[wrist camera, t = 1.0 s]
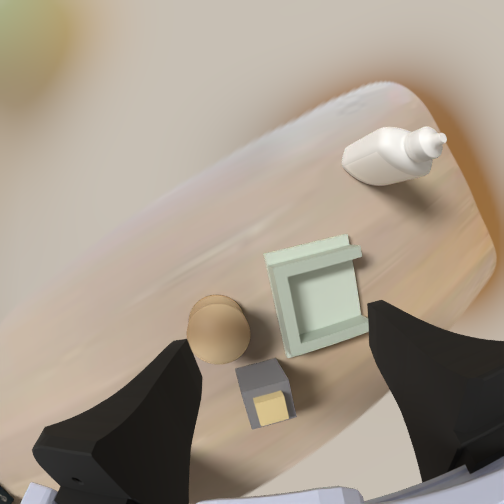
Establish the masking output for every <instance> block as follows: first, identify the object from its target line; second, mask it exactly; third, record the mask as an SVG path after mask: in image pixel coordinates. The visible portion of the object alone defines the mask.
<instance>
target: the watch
mask: <svg viewBox="0 0 504 504" xmlns="http://www.w3.org/2000/svg"><path fill="white" fill-rule="evenodd" d="M13 500H14V499H13V498H12V497H11V496H10V495H9V494H8V493H7V492H6V491H5V490H4V489H3V488H2V487H1V486H0V504H11V503H12V502H13Z"/></svg>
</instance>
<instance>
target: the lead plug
mask: <svg viewBox="0 0 504 504" xmlns="http://www.w3.org/2000/svg"><path fill="white" fill-rule="evenodd" d="M235 371H236V375H237V379H238V383H239V387H240V390H241V394H242V398H243V401H244V404H245V408H246V411H247V414H248V418H249V421H250V424H251V428H252V429H256V428H260V427H264V426H267V425H271V424H275V423H278V422H281V421H285V420H288V419H292V418H295V417H297V416H296V411H295V407H294V402H293V397H292V393H291V388H290V383H289V379H288V378H287V376H286V374H285V373H284V371H283V369H282V368H281V366H280V364H279V363H278V361H277V359H276V358H273V359H270V360H266V361H263V362H259V363H255V364H251V365H248V366H244V367H240V368H236V369H235Z"/></svg>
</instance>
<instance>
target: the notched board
mask: <svg viewBox="0 0 504 504" xmlns="http://www.w3.org/2000/svg"><path fill="white" fill-rule="evenodd" d="M359 257H362V253H361V247H360V245H349V240H348V235H347V234H342V235H338V236H334V237H330V238H326V239H322V240H318V241H314V242H310V243H305V244H301V245H297V246H293V247H289V248H285V249H281V250H277V251H273V252H268V253H264V259H265V263H266V268H267V272H268V277H269V281H270V286H271V290H272V295H273V299H274V304H275V308H276V313H277V317H278V322H279V326H280V331H281V336H282V340H283V345H284V349H285V354H286V356H287V358H290V357H295V356H298V355H302V354H305V353H308V352H311V351H314V350H317V349H320V348H324V347H327V346H330V345H333V344H336V343H338V342H341V341H344V340H347V339H350V338H353V337H356V336H358V335H361V334H364V333H367V332H369V324H368V318H366V317H364V316H362V315H361V311H360V304H359V297H358V291H357V285H356V279H355V273H354V267H353V261H352V259H356V258H359Z"/></svg>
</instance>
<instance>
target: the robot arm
mask: <svg viewBox="0 0 504 504" xmlns="http://www.w3.org/2000/svg"><path fill="white" fill-rule="evenodd" d="M367 306H368V324H369V346H370V348H371V351H372V354H373V357H374V359H375V362H376V364H377V366H378V368H379V370H380V372H381V374H382V376H383V378H384V379H385V381H386V383H387V385H388V387H389V389H390V391H391V392H392V394H393V396H394V398H395V400H396V402H397V404H398V406H399V408H400V410H401V413H402V415H403V418H404V421H405V423H406V426H407V429H408V432H409V435H410V438H411V442H412V445H413V448H414V451H415V455H416V459H417V462H418V466H419V470H420V474H421V478H422V483H420V484H418V485H415V486H412V487H409V488H406V489H403V490H401V491H398V492H395V493H391V494H388V495H385V496H382V497H378V498H375V499H371V500H368V501H364V500H363V496H362V495H361V494H360V492H359V491H358V490H356V489H353V488H347V487H341V486H334V487H323V488H315V489H309V490H303V491H297V492H290V493H283V494H274V495H264V496H254V497H239V498H218V499H210V500H203V501H200V502H198V503H196V504H504V341H495V340H485V339H479V338H474V337H469V336H464V335H460V334H457V333H453V332H450V331H447V330H444V329H441V328H439V327H436V326H434V325H431V324H429V323H427V322H424V321H422V320H420V319H418V318H416V317H414V316H412V315H410V314H408V313H406V312H404V311H402V310H400V309H398V308H397V307H395V306H393V305H391V304H389V303H387V302H385V301H383V300H379V301H375V302H372V303H368V304H367ZM201 394H202V375H201V372H200V370H199V367H198V365H197V362H196V360H195V357H194V355H193V352H192V350H191V347H190V345H189V342H188V339H183V340H176V341H173V342H172V343H170V344H169V345H168V346H167V347H166V348H165V349H164V350H163V351H162V352H161V353H160V354H159V355H158V356H157V357H156V358H155V359H154V360H153V361H152V362H151V363H150V364H149V365H148V366H147V367H146V368H145V369H144V370H143V371H142V372H140V373H139V374H138V375H137V376H136V377H135V378H134V379H133V380H132V381H130V382H129V383H128V384H127V385H126V386H124V387H123V388H122V389H121V390H119V391H118V392H116V393H115V394H114V395H112V396H111V397H109V398H108V399H106V400H105V401H103V402H101V403H100V404H98V405H96V406H95V407H93V408H91V409H89V410H87V411H85V412H83V413H81V414H79V415H77V416H75V417H72V418H70V419H67V420H65V421H62V422H59V423H56V424H53V425H50V426H47V427H45V428H44V430H43V431H42V433H41V435H40V437H39V438H38V440H37V442H36V443H35V445H34V447H33V449H32V452H33V455H34V457H35V459H36V461H37V462H38V463H39V465H40V466H41V467H42V468H43V469H44V470H45V471H46V472H47V473H48V474H49V475H50V476H51V477H52V478H53V479H54V480H55V481H56V482H57V483H58V484H59V485H60V486H61V487H60V489H59V491H58V492H57V491H56V490H54V489H52V488H49V487H46V486H43V485H40V484H37V483H33V482H31V483H30V485H29V487H28V489H27V491H26V493H25V495H24V497H23V499H22V501H21V503H20V504H189V465H190V452H191V444H192V438H193V434H194V429H195V425H196V420H197V416H198V411H199V406H200V401H201Z"/></svg>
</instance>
